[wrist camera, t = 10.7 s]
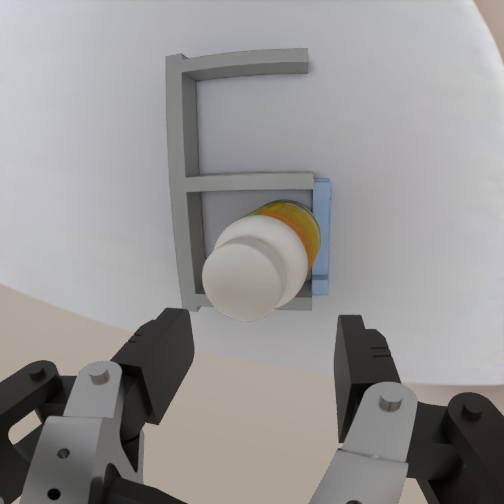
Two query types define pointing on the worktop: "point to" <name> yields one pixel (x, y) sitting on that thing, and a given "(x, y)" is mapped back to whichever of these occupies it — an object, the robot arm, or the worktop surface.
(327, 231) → the light blue flat bar
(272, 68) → the grey two-tier shelf
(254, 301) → the supplement bottle
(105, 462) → the robot arm
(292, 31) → the worktop surface
